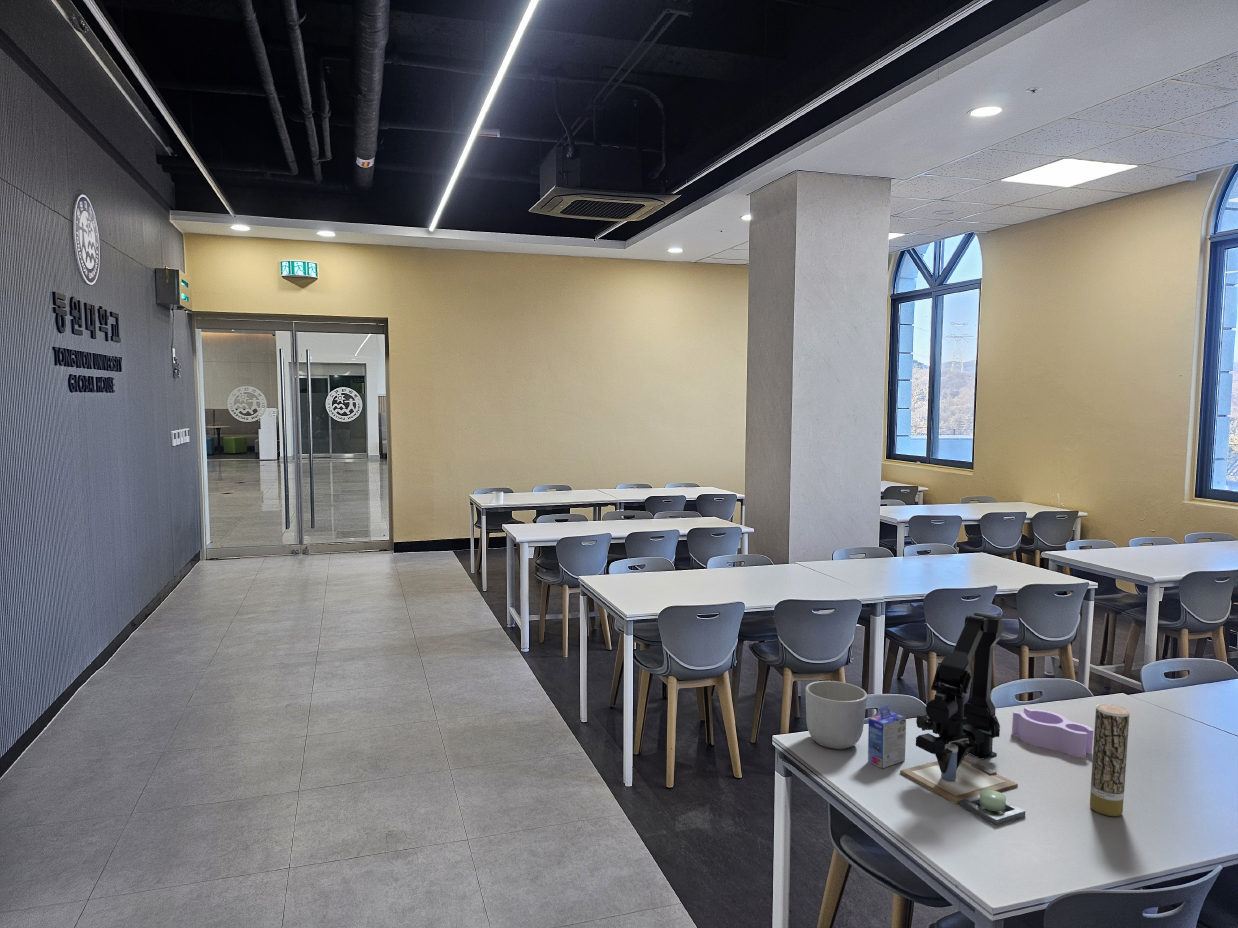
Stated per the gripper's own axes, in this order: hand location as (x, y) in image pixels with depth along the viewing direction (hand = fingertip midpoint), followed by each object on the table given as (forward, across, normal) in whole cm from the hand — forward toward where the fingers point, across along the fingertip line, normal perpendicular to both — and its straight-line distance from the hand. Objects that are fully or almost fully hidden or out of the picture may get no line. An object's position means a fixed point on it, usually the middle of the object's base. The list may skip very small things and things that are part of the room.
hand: (948, 771), depth 204 cm
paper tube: (+3, -23, +26) cm, 35 cm away
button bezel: (+3, +3, +15) cm, 16 cm away
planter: (+3, +10, -31) cm, 33 cm away
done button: (+1, +3, +15) cm, 15 cm away
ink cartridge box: (+3, +6, -16) cm, 17 cm away
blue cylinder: (+2, 0, 0) cm, 2 cm away
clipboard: (+3, -4, 0) cm, 5 cm away
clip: (+3, -48, -5) cm, 49 cm away
